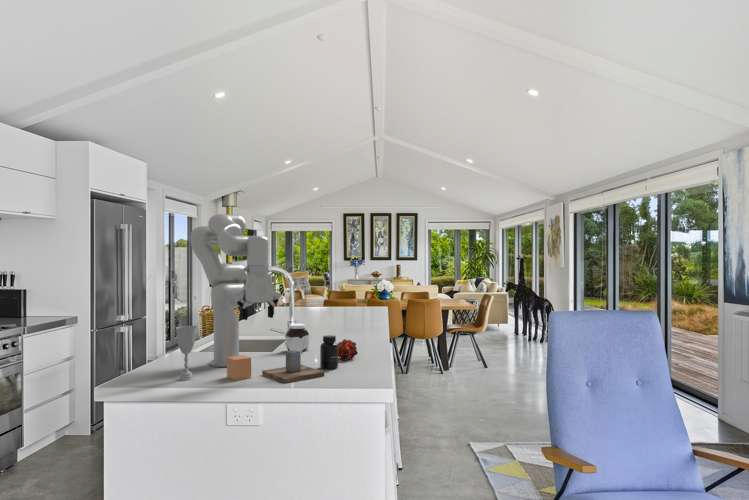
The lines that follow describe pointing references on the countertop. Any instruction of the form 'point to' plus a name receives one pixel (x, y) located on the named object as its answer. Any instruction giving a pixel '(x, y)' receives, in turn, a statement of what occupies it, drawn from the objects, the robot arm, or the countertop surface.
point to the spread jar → (297, 338)
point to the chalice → (186, 347)
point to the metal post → (293, 361)
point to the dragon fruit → (346, 349)
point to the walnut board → (293, 374)
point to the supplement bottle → (329, 353)
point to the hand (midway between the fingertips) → (257, 318)
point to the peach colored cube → (238, 367)
